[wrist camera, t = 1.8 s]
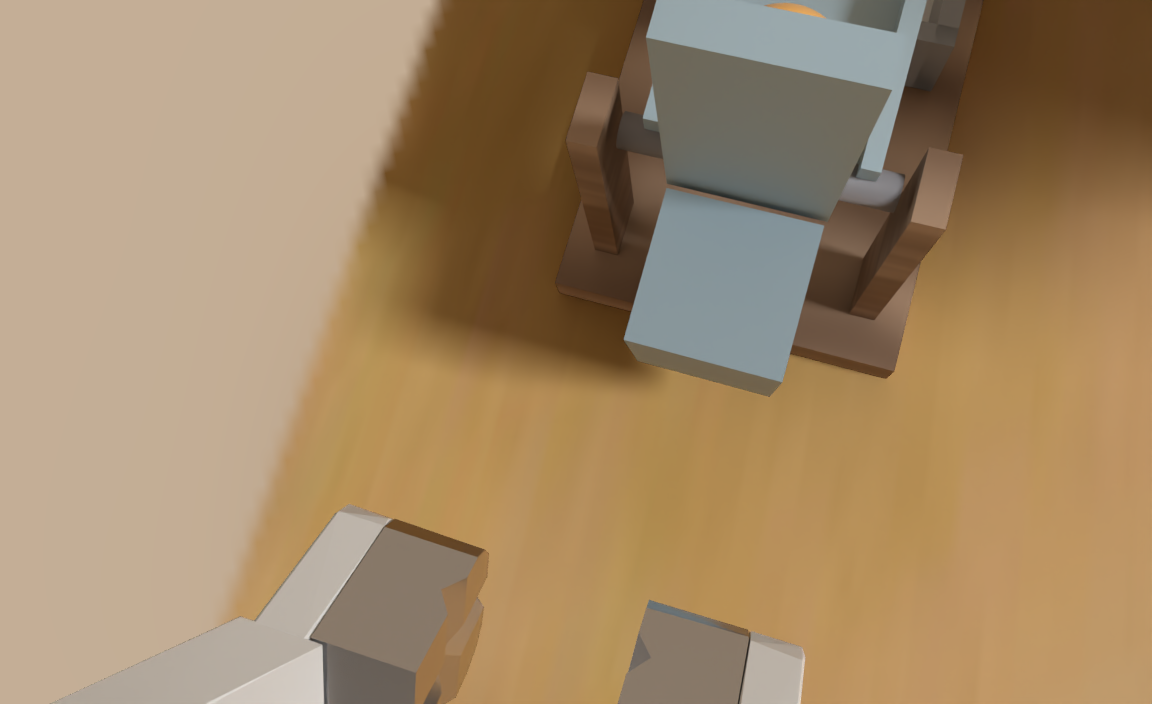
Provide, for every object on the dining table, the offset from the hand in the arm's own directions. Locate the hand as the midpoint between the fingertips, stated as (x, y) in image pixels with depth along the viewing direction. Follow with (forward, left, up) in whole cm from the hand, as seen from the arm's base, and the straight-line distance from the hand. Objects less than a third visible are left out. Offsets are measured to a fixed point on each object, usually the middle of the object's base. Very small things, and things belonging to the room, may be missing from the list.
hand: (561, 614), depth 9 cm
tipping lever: (-7, -15, -24) cm, 29 cm away
